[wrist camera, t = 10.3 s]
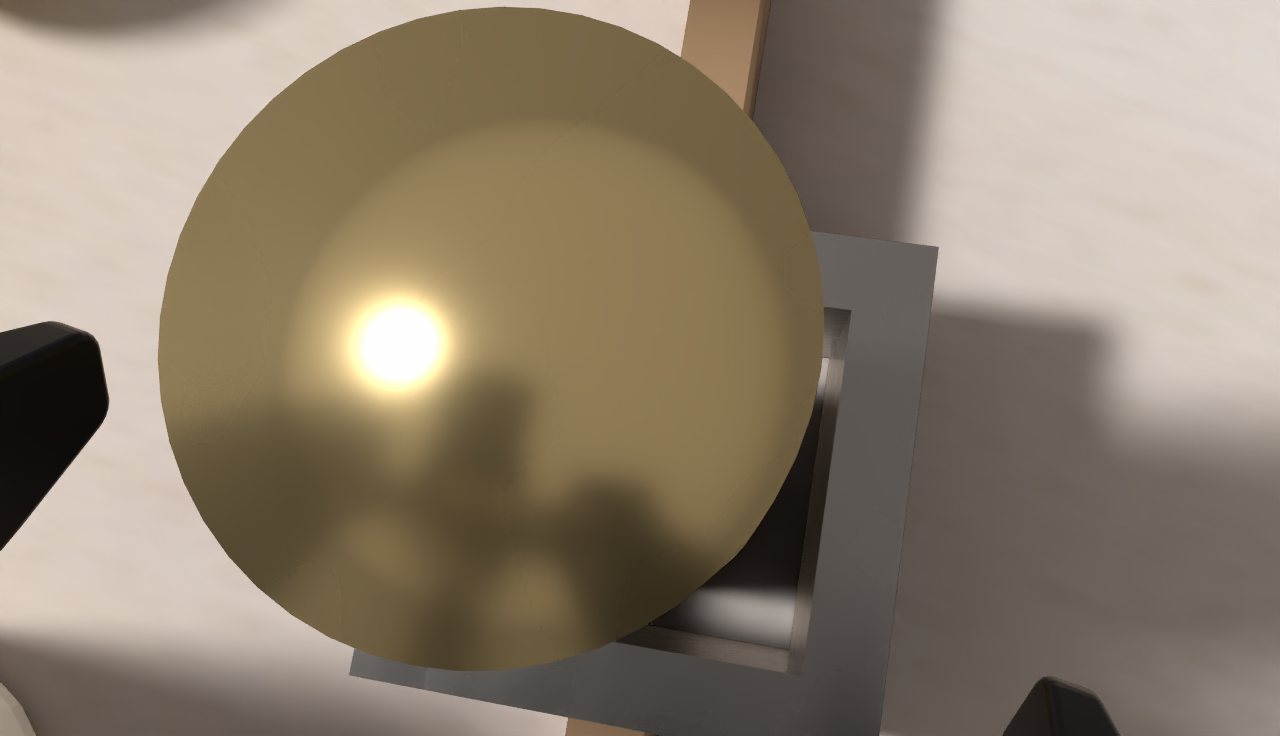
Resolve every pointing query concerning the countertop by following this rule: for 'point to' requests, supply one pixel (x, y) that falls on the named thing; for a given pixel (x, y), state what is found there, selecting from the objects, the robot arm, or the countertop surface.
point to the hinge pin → (491, 339)
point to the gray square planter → (831, 561)
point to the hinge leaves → (731, 57)
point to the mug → (13, 716)
